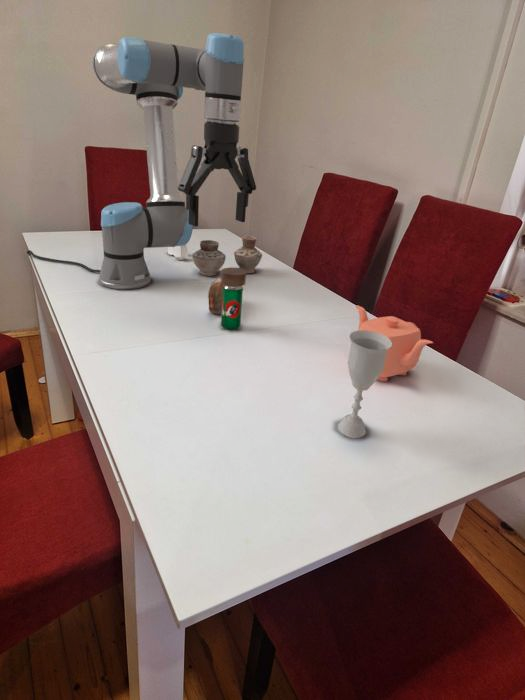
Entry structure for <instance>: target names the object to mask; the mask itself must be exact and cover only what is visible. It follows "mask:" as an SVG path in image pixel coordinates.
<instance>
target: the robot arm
mask: <svg viewBox="0 0 525 700" xmlns="http://www.w3.org/2000/svg"><path fill="white" fill-rule="evenodd" d="M244 48H245V42H244V40H243V38H241V37H240V36H238V35H235V34H231V33H230V34H229V33H223V32H222V33H221V32H213V33H212V32H211V33H209V34H208V35H207V36H206V44H205V48H196V47H192V46H185V45H178V44H172V43H165V42H159V41H153V40H147V39H142V38H141V37H128V36H124V37H121V38H120V39H119V43H118V44H116V43H115V44H105V45H102V46H100V47H99V48H98V49H97V50H96V51H95V52H94V55H93V56H92V67H93V68H92V69H93V72H94V74H95V76H96V78H97V80H98V81H99V82H100V83H101V84H102V85H104V86H105V87H106V88H108V89H110V90H112V91H114V92H117V93H120V94H125V95H133V96H135V98H136V99H135V100H136V104H137V105H138V106H139V107H140V108H141V110H142V115H143V116H142V117H143V123H144V124H143V127H144V137H145V147H146V148H145V149H146V160H147V171H148V181H149V191H150V192H149V193H150V196H149V198H148V199H147V200H146V202H145V205H146V207H144V206H143V205H142V204H141V203H140V202H136V201H135V202H134V201H133V202H132V201H131V202H130V201H125V202H118V203H117V202H116V203H112V204H108V205H106V206H104V207H103V209H102V210H101V211H100V212H101V213H100V215H101V216H100V226H101V235H102V247H103V259H102V262H101V263H102V264H101V268H100V269H94V268H90V267H88V266H87V265H85V264H83V263H81V262H77V261H71V260H61V259H55V258H50V257H44V256H40V255H37V254H35V253H34V252H33V251H32V250H30V249H28V250H27V251H26V254H30V255H31V256H32V257H34V258H37V259H40V260H45V261H49V262H55V263H61V264H62V263H63V264H71V265H76V266H80V267H82V268H84V269H86V270H87V271H90V272H92V273H99V274H98V275H99V276H98V279H99V284H100V285H102V287H103V286H104V287H105V288H108V289H114V290H137V289H141V288H144V287H147V286H148V285H150V284H151V281H152V279H151V273H150V271H149V268H148V265H147V263H146V260H145V255H144V254H145V253H144V251H145V249H147V248H148V249H153V248H154V249H155V248H168V247H175V246H183V245H186V246H187V244H188V243H189V242H190V240H191V237H192V234H193V230H194V227H199V207H200V206H199V203H200V196H199V195H196V194H197V193H198V191H199V190H200V188H201V187H202V186H203V185H204V183H205V182H206V180H207V179H208V177H209V175H211V173H212V172H213V171H215V170H228V172H229V174H230V176H231V177H232V179H233V181H234V183H235V184H236V186H237V188H238V189H239V191H237V192H236V205H235V221H238V222H239V223H240V222H241V223H245V222H246V210H247V207H249V195H251V194H252V193H253V191H256V190H257V185H256V181H255V178H254V177H255V176H254V173H253V171H252V167H251V164H250V160H249V149H248V148H247V147H241V146H239V147H237V144H239V141H240V140H239V139H240V125H239V124H237V123H239V122H240V121H241V106H242V105H241V104H242V90H243V75H244V64H245V58H244V54H245V53H244V50H245V49H244ZM184 88H187V89H194V90H196V91H204V111H203V112H204V114H203V116H204V119H206V121H205V122H204V124H203V139H204V146H203V147H202V146H200V145H195V144H193V145H192V146H191V149H190V157H189V160H188V162H187V164H186V167H185V169H184V172H183V174H182V176H181V179H180V182H179V174H178V173H179V172H178V162H177V161H178V160H177V148H176V146H177V145H176V135H175V134H176V133H175V123H174V120H175V119H174V109H175V108H176V107H177V106H178V100H180V99H181V98H182V96H183V93H184ZM203 157H204V159H203ZM236 158H237V161H236ZM202 159H203V161H202ZM237 162H238V163H237ZM199 167H200V168H199ZM180 193H184V194H185V199H183V198H182V197H181V195H180Z"/></svg>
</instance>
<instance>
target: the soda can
mask: <svg viewBox="0 0 525 700" xmlns="http://www.w3.org/2000/svg"><path fill="white" fill-rule="evenodd" d="M243 286H244V285H243ZM243 286H240V287H231V286H226V285H223V292H222V313H221V314H220V316H221V317H220V325H221V327H222V328H223V329H224V330H226V331H236V330H238V329H239V328H241V326H242V325H241V324H242V312H243V311H242V310H243V295H244V294H243V293H244V287H243Z"/></svg>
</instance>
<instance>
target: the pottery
mask: <svg viewBox="0 0 525 700" xmlns="http://www.w3.org/2000/svg"><path fill="white" fill-rule="evenodd" d="M241 241H242V246H241V247H239V248H238V249H236V250H235V251H234V252H233V256H234V261H235V263H236V264H237V266H238V268H240V269H243V270H245V271H246V274H253V273H255V272H256V269H255V268H256V267H258V265H259V264H260V263H261V260H262V258H263V253H262V252H261V251H259V249H257V247H256V242H257V237H255V236H250V235H247V236H246V235H244V236H242V237H241ZM219 246H220V243H219V242H218V241H216V240H212V239H204V240H201V241H200V242H199V247H200V249H198V250H196V251H194V252H193V253H192V255H191V257H192V261H193V263H194V265H195V267H196V268H197V269H198V270H199V274H200V275H203V276H209V277H212V276H217V274H218V271H219V270H220V269H221V268H222V267H223V266H224V264H225V261H226V258H227V257H226V256H227V255H225V253H224V252H222V251H221V250H219Z"/></svg>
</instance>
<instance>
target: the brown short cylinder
mask: <svg viewBox="0 0 525 700" xmlns="http://www.w3.org/2000/svg"><path fill="white" fill-rule="evenodd" d="M220 276H221V283H222V284H224V285H226V286H231V287H240V286H245V285H246V281H247V273H246V271H245V270H243V269H240V267H233V266H231V267H224V268H222V269H221V274H220Z"/></svg>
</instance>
